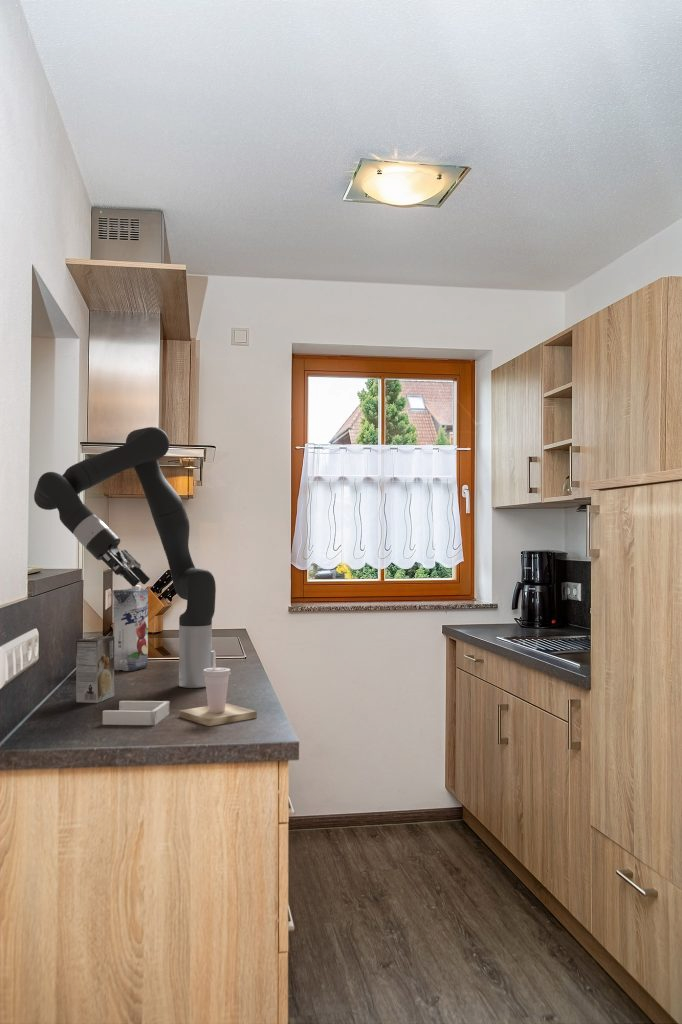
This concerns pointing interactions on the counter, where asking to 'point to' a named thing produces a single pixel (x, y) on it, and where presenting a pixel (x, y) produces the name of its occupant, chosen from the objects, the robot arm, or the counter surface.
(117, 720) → the frame
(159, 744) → the counter surface
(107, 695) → the coffee box
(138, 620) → the juice carton
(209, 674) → the smoothie
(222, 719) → the brass board
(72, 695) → the counter surface
